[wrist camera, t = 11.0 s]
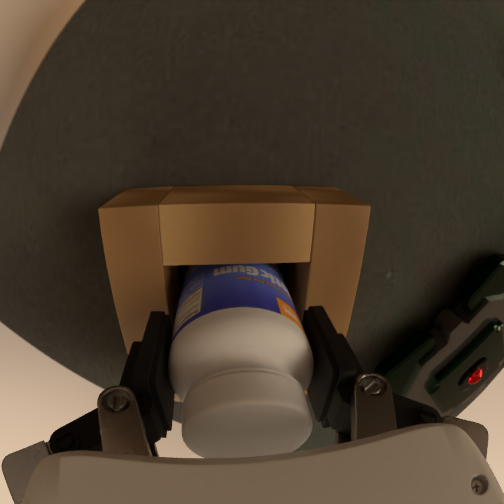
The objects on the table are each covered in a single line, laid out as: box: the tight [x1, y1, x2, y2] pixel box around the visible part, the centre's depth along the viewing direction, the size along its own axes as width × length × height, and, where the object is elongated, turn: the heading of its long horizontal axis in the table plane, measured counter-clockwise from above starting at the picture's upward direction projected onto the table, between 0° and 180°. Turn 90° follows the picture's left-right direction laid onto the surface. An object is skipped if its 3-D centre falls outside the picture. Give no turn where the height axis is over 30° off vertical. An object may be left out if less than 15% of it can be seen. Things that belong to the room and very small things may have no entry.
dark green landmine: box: [374, 254, 504, 417], centre depth 20 cm, size 18×18×5 cm
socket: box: [98, 185, 370, 401], centre depth 15 cm, size 11×11×4 cm
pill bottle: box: [168, 263, 314, 458], centre depth 12 cm, size 5×5×10 cm
